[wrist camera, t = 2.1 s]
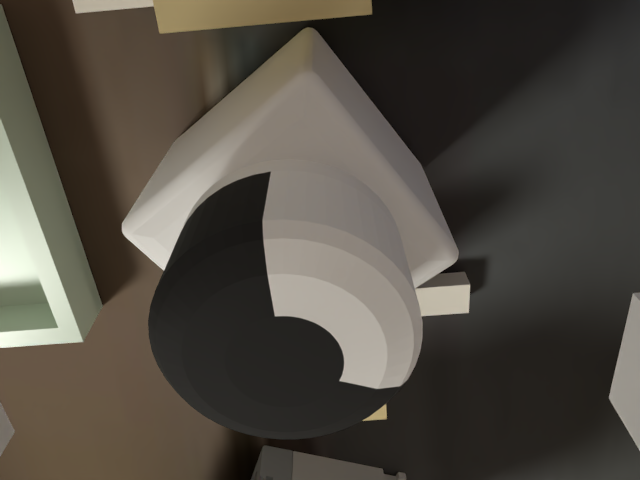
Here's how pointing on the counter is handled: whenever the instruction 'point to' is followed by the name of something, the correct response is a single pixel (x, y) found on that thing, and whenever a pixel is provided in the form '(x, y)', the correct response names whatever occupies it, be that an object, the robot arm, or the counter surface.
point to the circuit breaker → (312, 467)
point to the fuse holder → (277, 7)
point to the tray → (36, 226)
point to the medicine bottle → (290, 251)
